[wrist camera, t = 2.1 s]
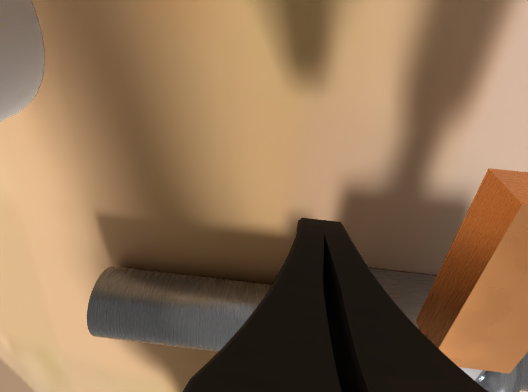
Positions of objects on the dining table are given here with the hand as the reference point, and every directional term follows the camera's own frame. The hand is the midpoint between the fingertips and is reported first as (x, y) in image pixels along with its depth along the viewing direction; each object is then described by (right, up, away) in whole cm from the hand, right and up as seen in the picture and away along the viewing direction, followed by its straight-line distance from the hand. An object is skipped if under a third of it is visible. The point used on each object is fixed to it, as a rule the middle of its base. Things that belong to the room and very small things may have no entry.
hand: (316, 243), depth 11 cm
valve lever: (+5, -3, +1) cm, 6 cm away
